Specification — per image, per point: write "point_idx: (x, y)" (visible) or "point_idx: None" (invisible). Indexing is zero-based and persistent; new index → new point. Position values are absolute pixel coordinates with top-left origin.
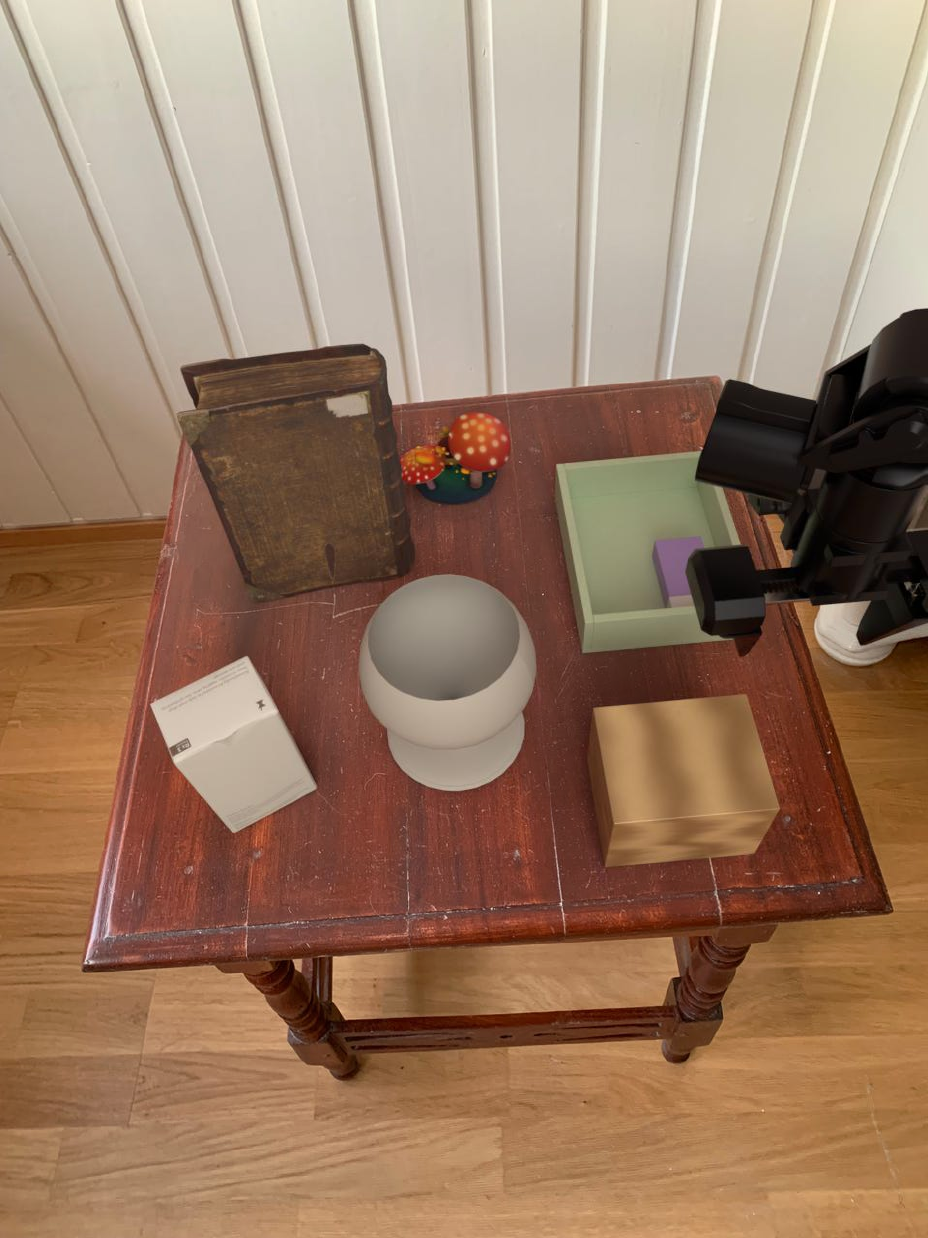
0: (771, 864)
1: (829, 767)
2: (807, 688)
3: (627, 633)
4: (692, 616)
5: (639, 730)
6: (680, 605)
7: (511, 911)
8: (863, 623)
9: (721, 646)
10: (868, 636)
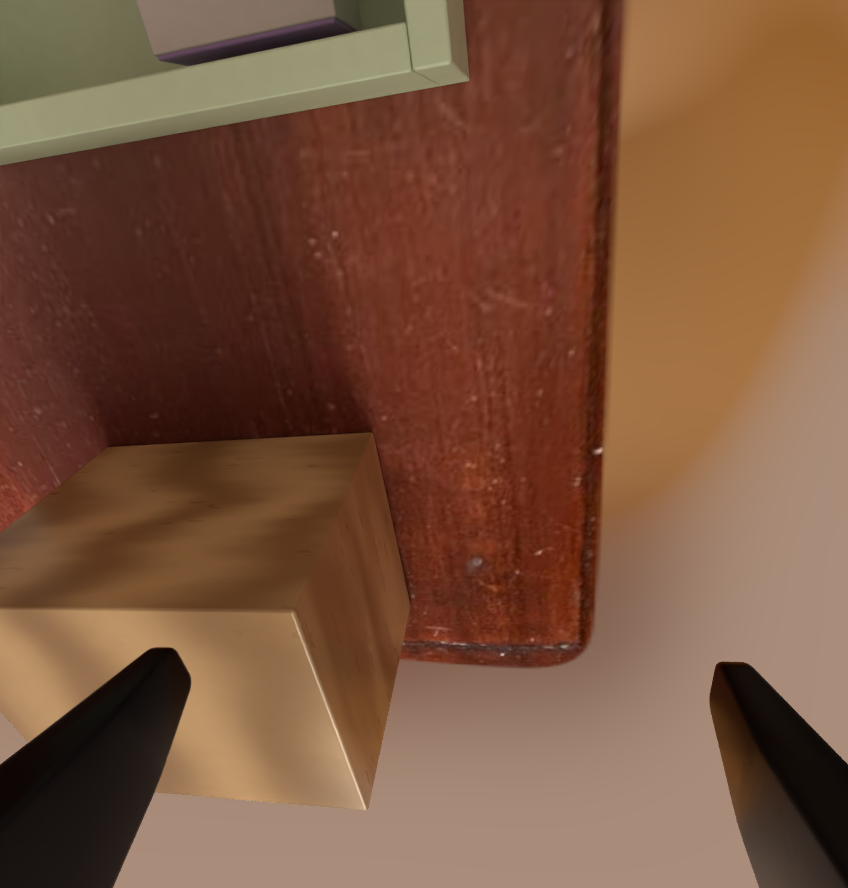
0: (436, 618)
1: (588, 481)
2: (605, 279)
3: (37, 151)
4: (188, 116)
5: (39, 663)
6: (169, 1)
7: None
8: (765, 789)
9: (376, 122)
10: (747, 840)
